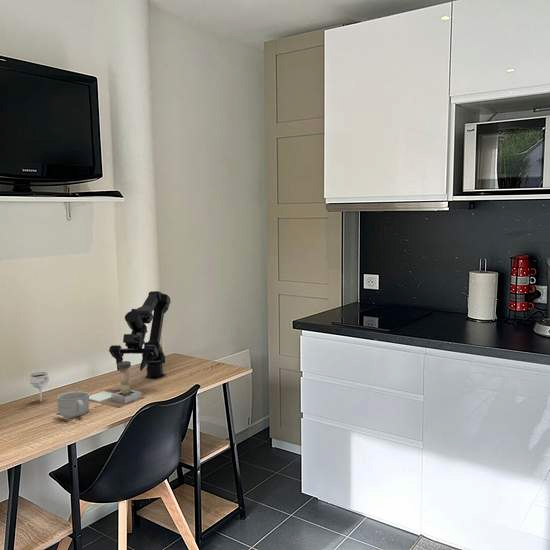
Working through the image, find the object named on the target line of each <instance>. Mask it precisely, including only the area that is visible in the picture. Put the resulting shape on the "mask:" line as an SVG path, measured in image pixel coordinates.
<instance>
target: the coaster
mask: <svg viewBox="0 0 550 550" xmlns="http://www.w3.org/2000/svg"><path fill="white" fill-rule="evenodd" d="M111 394H114V393H110V392H106V391H105V390H102V391H99V392H96V393H94V395H93V394H91V396H90V395H89V400H91V401H90V402H92V401H95V402H94V403H96V402H99V403H98V404H100V402H103V401H105V400H108V399H111Z"/></svg>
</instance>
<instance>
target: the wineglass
mask: <svg viewBox="0 0 550 550" xmlns="http://www.w3.org/2000/svg"><path fill="white" fill-rule="evenodd" d="M48 374H49V372H47V371H43V372H42V371H41V372H40V371H39V372H35V373H31V374H29V383H30V385H31V386H32V387H34V389H35V388H36V389H38V391H39V399H40V400H39V401H40V403H42V402H43V399H42V397H43V396H42V389H43V387H45V386H47V384H48V383H49V381H50V379H49V376H48Z"/></svg>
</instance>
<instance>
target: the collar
mask: <svg viewBox="0 0 550 550" xmlns="http://www.w3.org/2000/svg"><path fill="white" fill-rule="evenodd" d="M141 397H142V391H140V390H139V391H138V390H135V389H134V390H133V389H131V394H129V395H127V396H124V395H121V390H120V391H118V392H117V393H114V394H111V398H112V401H114V402H118V403H123V404H127V403H130V402H132V401H135V400H138V399H140V398H141ZM138 401H139V400H138Z"/></svg>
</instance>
